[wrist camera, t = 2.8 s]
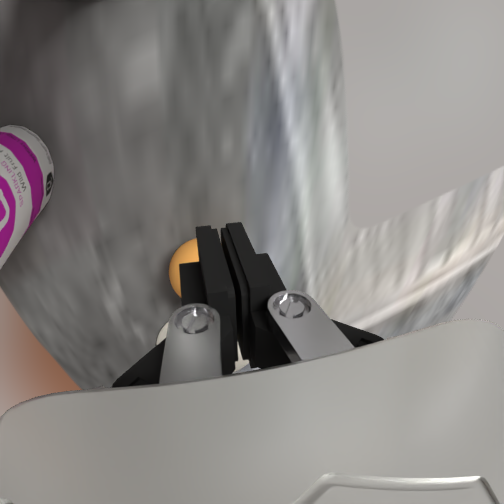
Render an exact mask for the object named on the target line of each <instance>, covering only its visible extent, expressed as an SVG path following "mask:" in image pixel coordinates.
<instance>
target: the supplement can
mask: <svg viewBox="0 0 504 504" xmlns="http://www.w3.org/2000/svg"><path fill="white" fill-rule="evenodd" d="M53 185H54V165H53V162H52V159H51V156H50V154H49V151H48V148H47V147H46V145H45V144H44V143H43V141H42V140H41V139H40V138H39V136H38V135H37V134H35V133H34V132H32V131H30V130H29V129H27V128H26V127H23V126H15V125H8V126H5V127H2V128H0V269H1V268H2V266H3V265H4V263H5V262H6V260H7V258H8V257H9V255H10V254H11V252H12V251H13V250H14V248H15V247H16V245H17V244H18V242H19V241H20V239H21V238H22V237H23V235H24V234H25V232H26V231H27V230H28V228H29V227H30V226H31V224H32V223H33V222H34V220H35V219H36V218H37V216H38V215H39V214H40V212H41V211H42V210H43V208H44V207H45V205H46V204H47V202H48V201H49V199H50V196H51V193H52V189H53Z"/></svg>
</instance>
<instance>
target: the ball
mask: <svg viewBox="0 0 504 504" xmlns="http://www.w3.org/2000/svg"><path fill="white" fill-rule="evenodd" d="M198 261H199V256H198V247H197V239H192V240H190V241H187V242H186V243H184V244H183V245H181V246H180V247H179V248H178V249H177V250H176V252H175V253H174V255H173V256H172V259H171V262H170V265H169V278H170V282H171V285H172V287H173V289H174V290H175V292H176V293H177V294H178V296H180V297H181V287H180V273H179V264H181V263H189V262H198Z"/></svg>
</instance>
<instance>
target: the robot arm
mask: <svg viewBox="0 0 504 504" xmlns="http://www.w3.org/2000/svg"><path fill="white" fill-rule="evenodd" d="M196 237H197V247H198V256H199V261H198V262H189V263H181V264H179V273H180V287H181V301H182V307H180V308H178V309H177V310H175V311H174V312H173V314H172V315H171V317H170V319H169V323H168V329H167V335H166V338H165V339H164V340H163V341H161V342H160V343H159V344H158V345H157V346H156V347H154V348H153V349H152V350H151V351H150V352H149V353H147V354H146V355H145V356H144V357H143V358H142V359H140V360H139V361H138V362H137V363H136V364H135V365H133V366H132V367H131V368H130V369H129V370H127V371H126V372H125V373H124V374H123V375H122V376H120V377H119V378H118V379H117V380H116V381H115V383H114V384H113V386H112V387H111V388H104V386H99V387H95V388H91V389H87V390H75V391H66V392H58V393H51V394H47V395H43V396H38V397H35V398H32V399H30V400H26V401H24V402H21V403H19V404H17V405H15V406H13V407H12V408H10V409H9V410H7V411H6V412H5V413H4V414H3V415H2V416H1V418H0V504H504V330H503V329H502V328H501V327H500V326H498V325H497V324H495V323H493V322H490V321H486V320H480V319H462V320H454V321H449V322H444V323H440V324H437V325H433V326H430V327H427V328H423V329H420V330H416V331H413V332H410V333H406V334H403V335H400V336H393V337H388V338H387V339H386V340H384V339H383V338H381V337H379V336H377V335H375V334H372V333H369V332H366V331H363V330H360V329H357V328H355V327H352V326H349V325H346V324H343V323H340V322H337V321H335V320H332V319H330V318H329V317H328V315H327V314H326V313H325V312H324V311H323V310H322V308H321V307H320V306H319V305H318V304H317V303H316V301H315V300H314V299H313V298H312V297H310V296H309V295H308V294H306V293H303V292H300V291H296V290H286V288H285V286H284V284H283V282H282V280H281V278H280V276H279V275H278V273H277V271H276V269H275V267H274V265H273V263H272V261H271V259H270V257H269V255H268V254H267V253H263V254H256V253H255V251H254V249H253V247H252V245H251V242H250V240H249V238H248V236H247V234H246V232H245V229H244V227H243V225H242V223H241V222H238V223H228V224H226V228H221V242H220V239H219V235H218V232H217V229H211V226H201V227H196ZM237 341H238V343H237ZM238 345H239V348H240V352H241V356H242V359H243V360H249V363H250V367H251V368H257V367H259V368H261V369H259V370H253V371H248V372H242V373H236V374H232V373H233V372H234V371H235V369H236V368H235V362H236V361H238Z"/></svg>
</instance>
